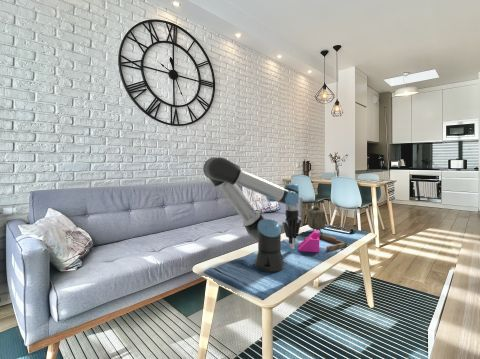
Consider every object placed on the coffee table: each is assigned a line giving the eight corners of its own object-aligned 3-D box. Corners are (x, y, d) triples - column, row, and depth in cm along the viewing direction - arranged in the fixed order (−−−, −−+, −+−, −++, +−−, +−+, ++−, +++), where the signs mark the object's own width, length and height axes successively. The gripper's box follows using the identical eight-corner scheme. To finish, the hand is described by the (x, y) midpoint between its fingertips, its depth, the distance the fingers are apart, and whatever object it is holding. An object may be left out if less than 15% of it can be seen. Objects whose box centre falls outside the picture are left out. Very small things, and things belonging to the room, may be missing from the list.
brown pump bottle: (324, 235, 179) (325, 201, 177) (312, 235, 180) (312, 201, 178) (318, 229, 194) (319, 198, 192) (307, 230, 194) (307, 198, 192)
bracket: (318, 246, 158) (318, 230, 157) (319, 252, 148) (319, 235, 147) (299, 245, 161) (299, 229, 160) (298, 250, 151) (298, 234, 150)
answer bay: (328, 251, 149) (328, 246, 149) (303, 241, 168) (303, 236, 168) (346, 246, 156) (346, 241, 156) (321, 237, 175) (321, 232, 175)
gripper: (287, 212, 141) (287, 252, 143) (304, 209, 147) (304, 248, 149) (279, 209, 148) (279, 248, 150) (296, 207, 154) (296, 244, 156)
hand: (292, 248), depth 150 cm, fingers closed
